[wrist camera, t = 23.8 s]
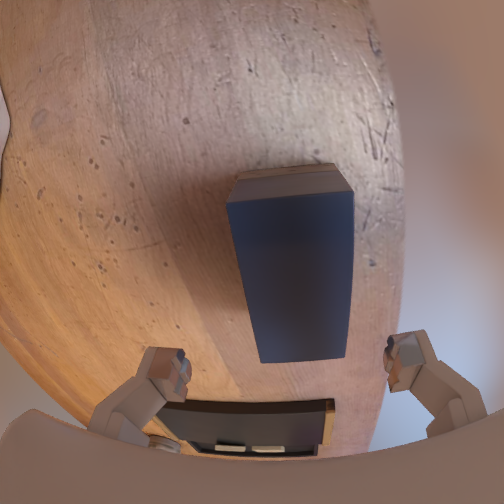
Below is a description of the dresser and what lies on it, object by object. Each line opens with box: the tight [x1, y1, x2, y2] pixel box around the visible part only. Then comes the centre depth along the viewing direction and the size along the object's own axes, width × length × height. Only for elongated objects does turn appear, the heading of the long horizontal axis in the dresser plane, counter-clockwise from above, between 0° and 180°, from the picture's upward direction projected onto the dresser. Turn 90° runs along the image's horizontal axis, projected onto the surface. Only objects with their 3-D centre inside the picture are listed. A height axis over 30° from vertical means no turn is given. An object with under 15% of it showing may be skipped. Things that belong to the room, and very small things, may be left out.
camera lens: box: [148, 436, 181, 453], centre depth 36 cm, size 6×6×8 cm
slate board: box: [152, 399, 335, 446], centre depth 29 cm, size 11×22×2 cm, turn 100°
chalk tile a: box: [215, 444, 246, 452], centre depth 32 cm, size 4×4×1 cm
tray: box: [187, 441, 318, 458], centre depth 34 cm, size 7×19×1 cm, turn 100°
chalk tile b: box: [252, 446, 285, 452], centre depth 33 cm, size 4×4×1 cm
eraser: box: [226, 163, 354, 363], centre depth 15 cm, size 5×10×4 cm, turn 9°
